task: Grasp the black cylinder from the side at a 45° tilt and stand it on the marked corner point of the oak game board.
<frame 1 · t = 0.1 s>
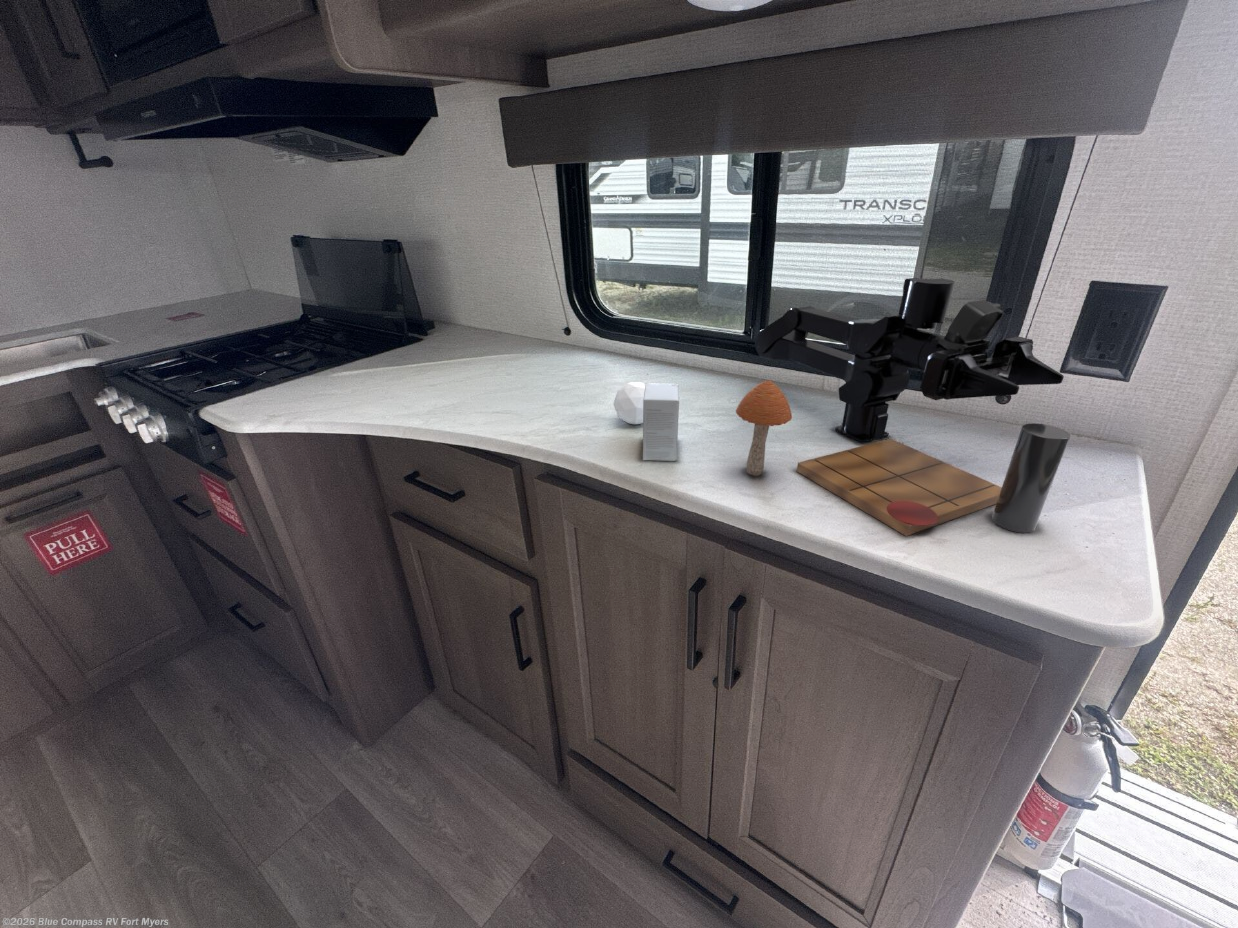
hand: (1040, 385, 72), 17 cm above the worktop, tool horizontal, fingers open, 9 cm apart
geometric ball: (634, 423, 105), on the worktop
black cylinder: (1013, 522, 73), on the worktop
small box: (660, 451, 94), on the worktop
board: (896, 484, 83), on the worktop
mushroom: (756, 475, 86), on the worktop
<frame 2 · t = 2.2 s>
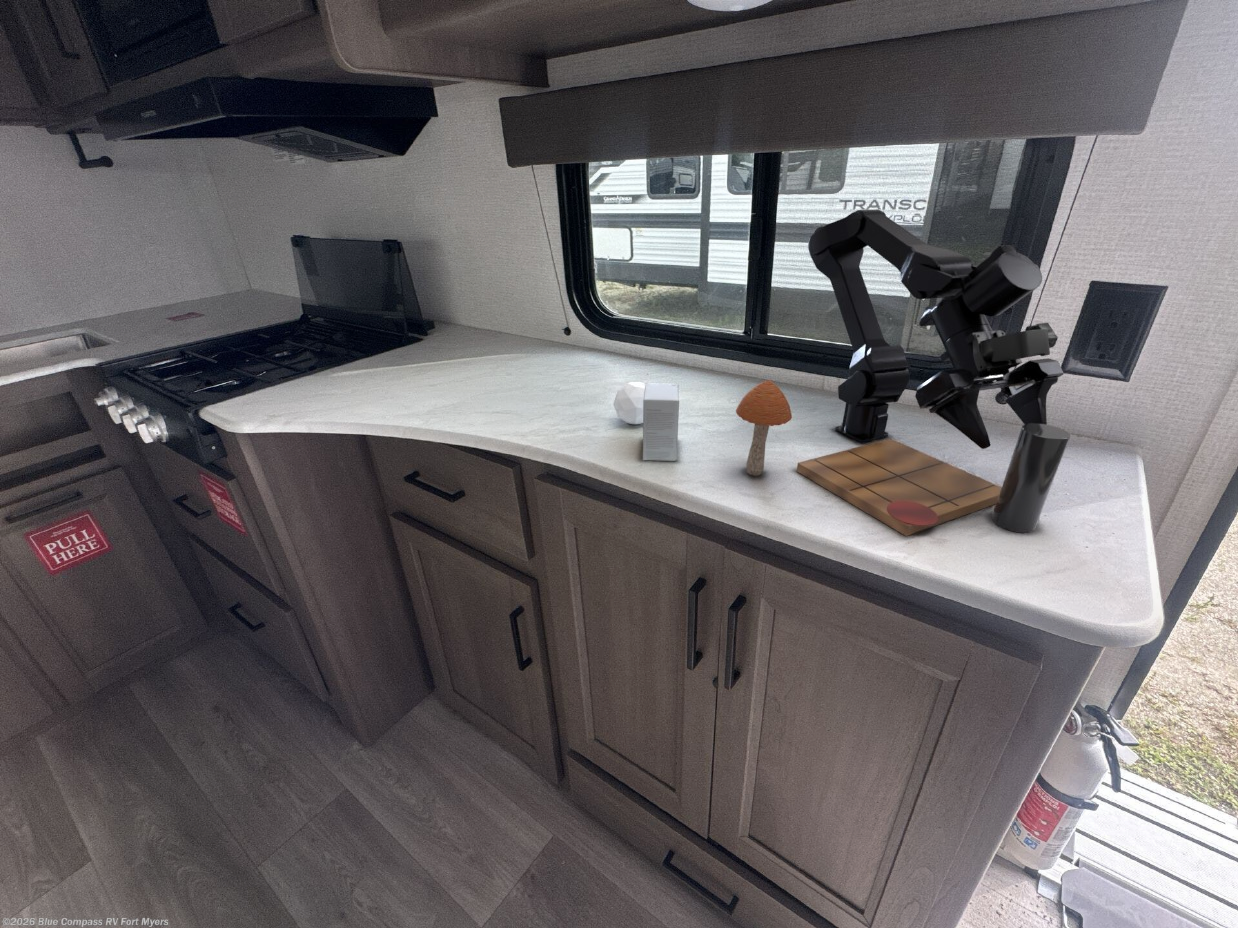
hand: (1015, 442, 72), 10 cm above the worktop, tool tilted 45°, fingers open, 9 cm apart
nothing on the worktop moved.
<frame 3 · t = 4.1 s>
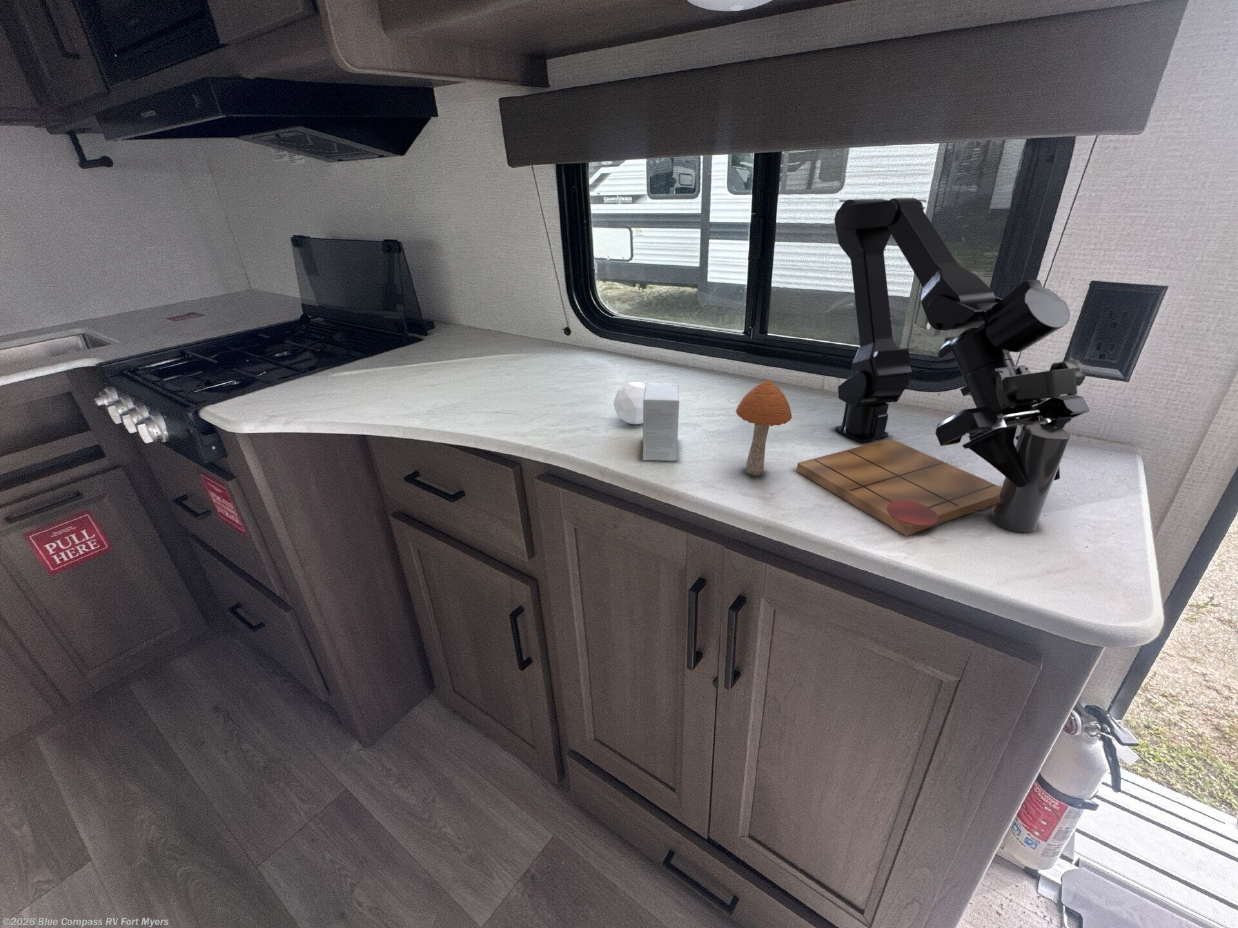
hand: (1039, 483, 69), 7 cm above the worktop, tool tilted 45°, fingers closed on black cylinder, 5 cm apart
black cylinder: (1013, 522, 73), on the worktop, touching gripper
everything else where it was.
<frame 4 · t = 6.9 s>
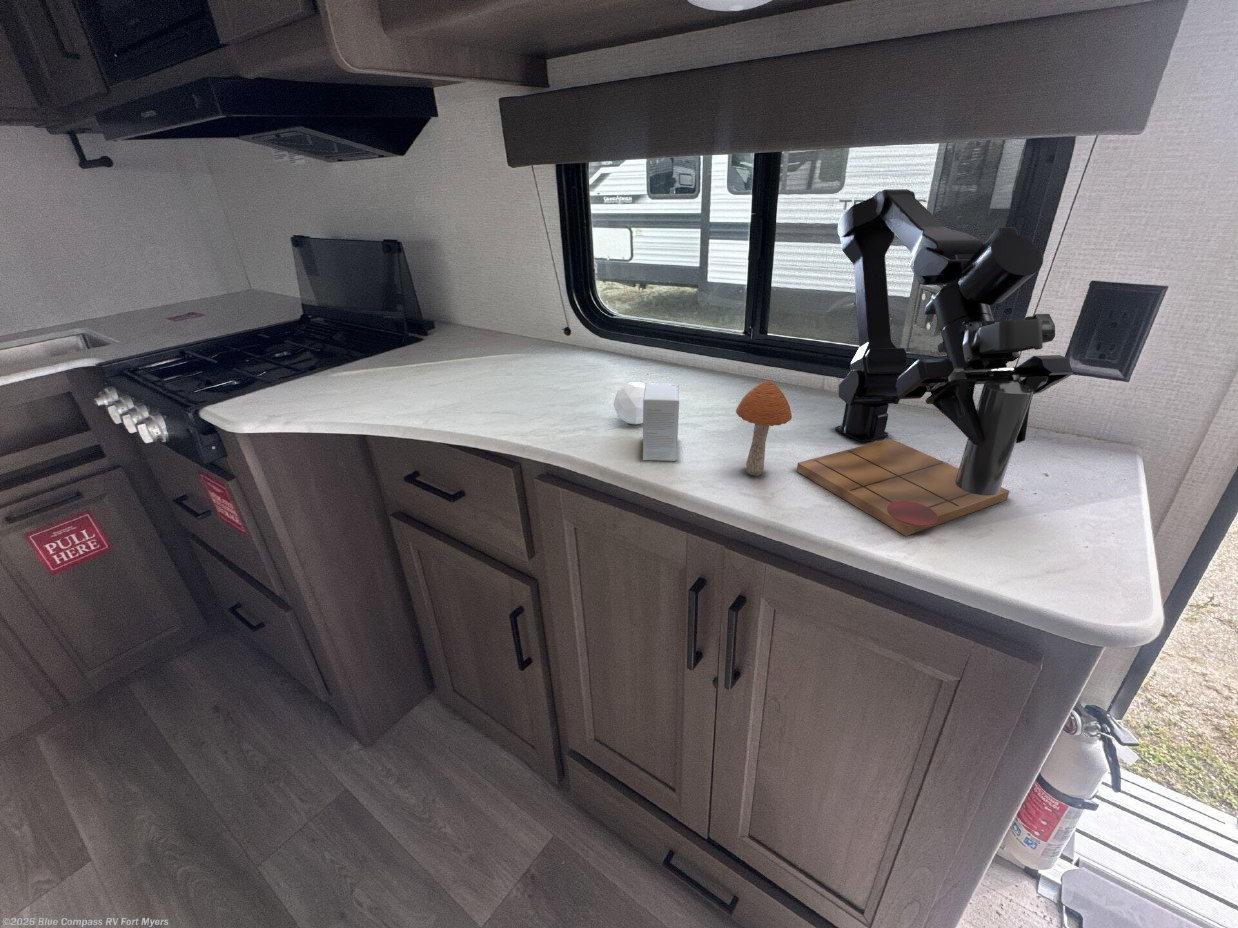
hand: (999, 442, 66), 12 cm above the worktop, tool tilted 45°, fingers closed on black cylinder, 5 cm apart
black cylinder: (976, 486, 70), point 6 cm above the worktop, touching gripper
everything else where it was.
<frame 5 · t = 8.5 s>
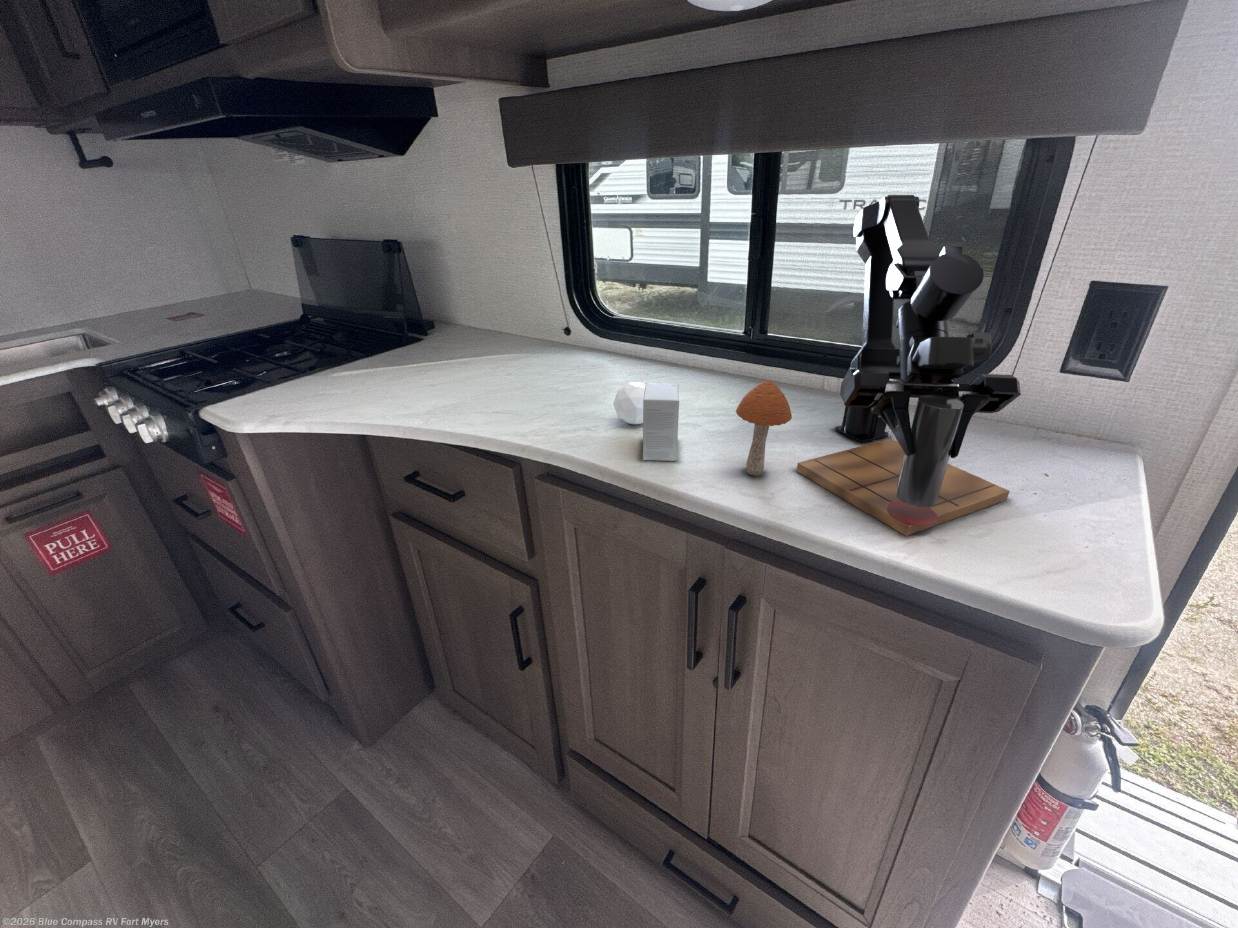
hand: (931, 455, 68), 10 cm above the worktop, tool tilted 45°, fingers closed on black cylinder, 5 cm apart
black cylinder: (915, 497, 72), point 4 cm above the worktop, touching gripper
everything else where it was.
when the fingers open (8 cm above the worktop, at t = 9.6 s): black cylinder stays where it is, resting on board.
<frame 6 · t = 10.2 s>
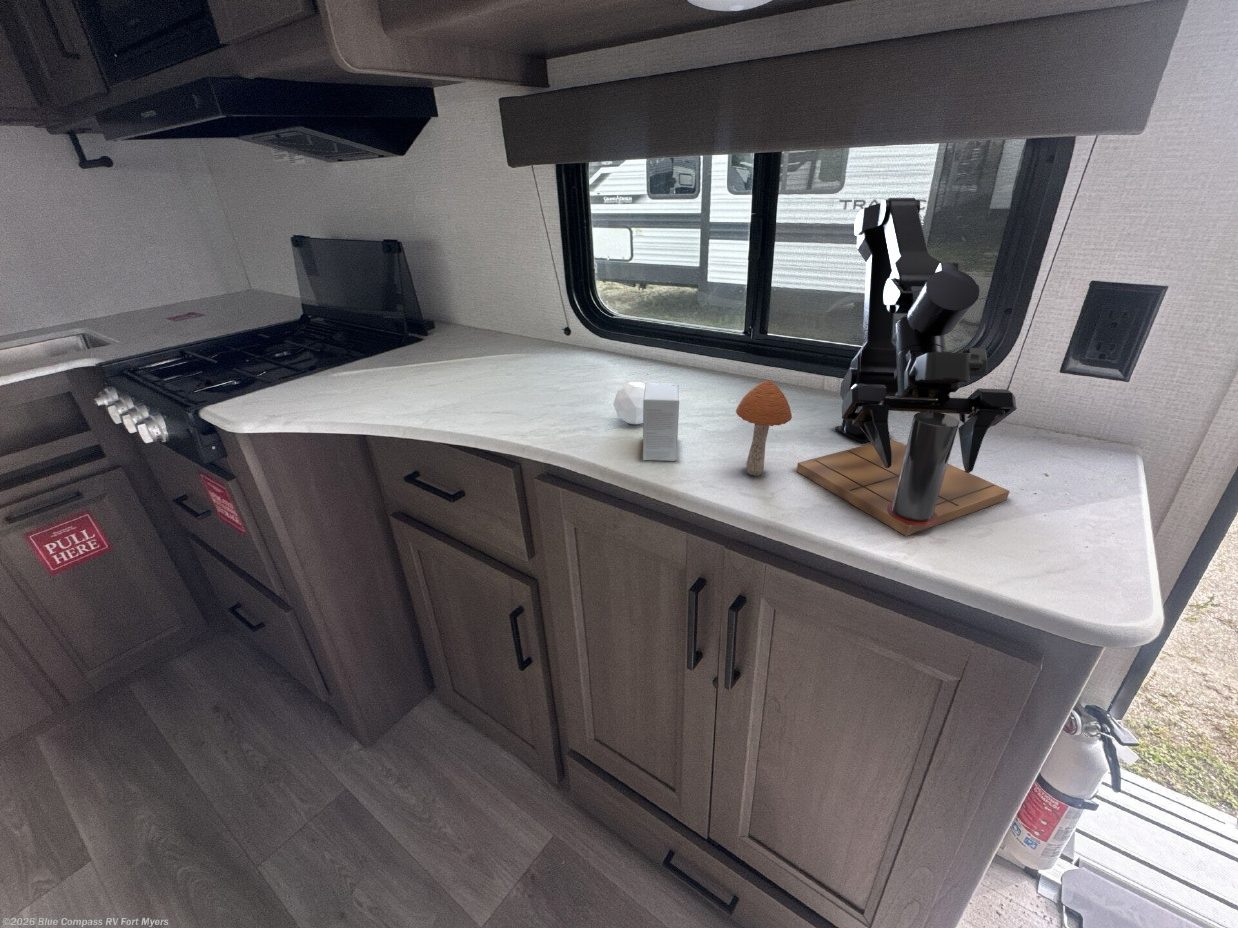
hand: (928, 469, 68), 9 cm above the worktop, tool tilted 45°, fingers open, 9 cm apart
black cylinder: (912, 512, 73), point 2 cm above the worktop, touching board
everything else where it was.
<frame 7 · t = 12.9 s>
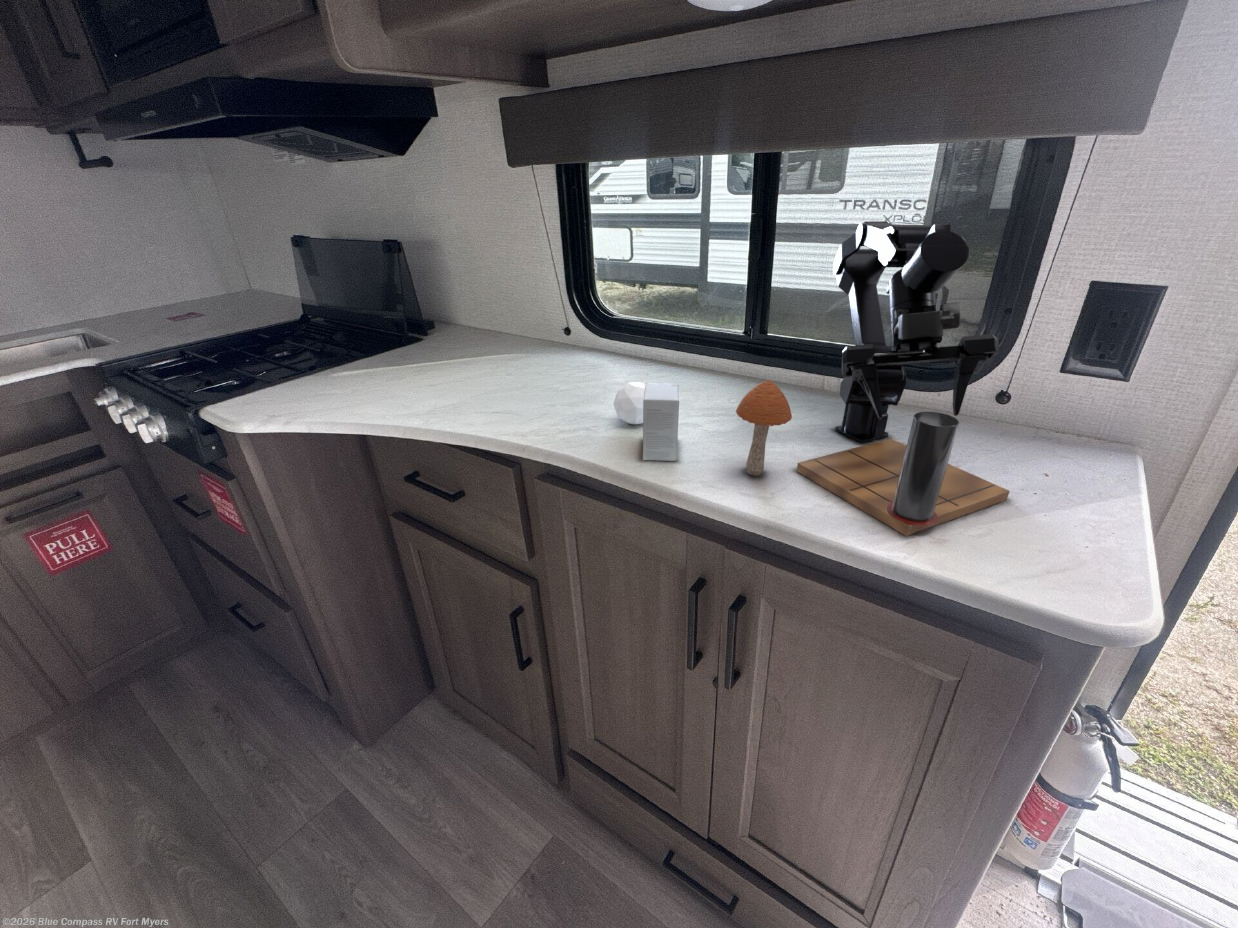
hand: (917, 416, 76), 11 cm above the worktop, tool tilted 35°, fingers open, 9 cm apart
nothing on the worktop moved.
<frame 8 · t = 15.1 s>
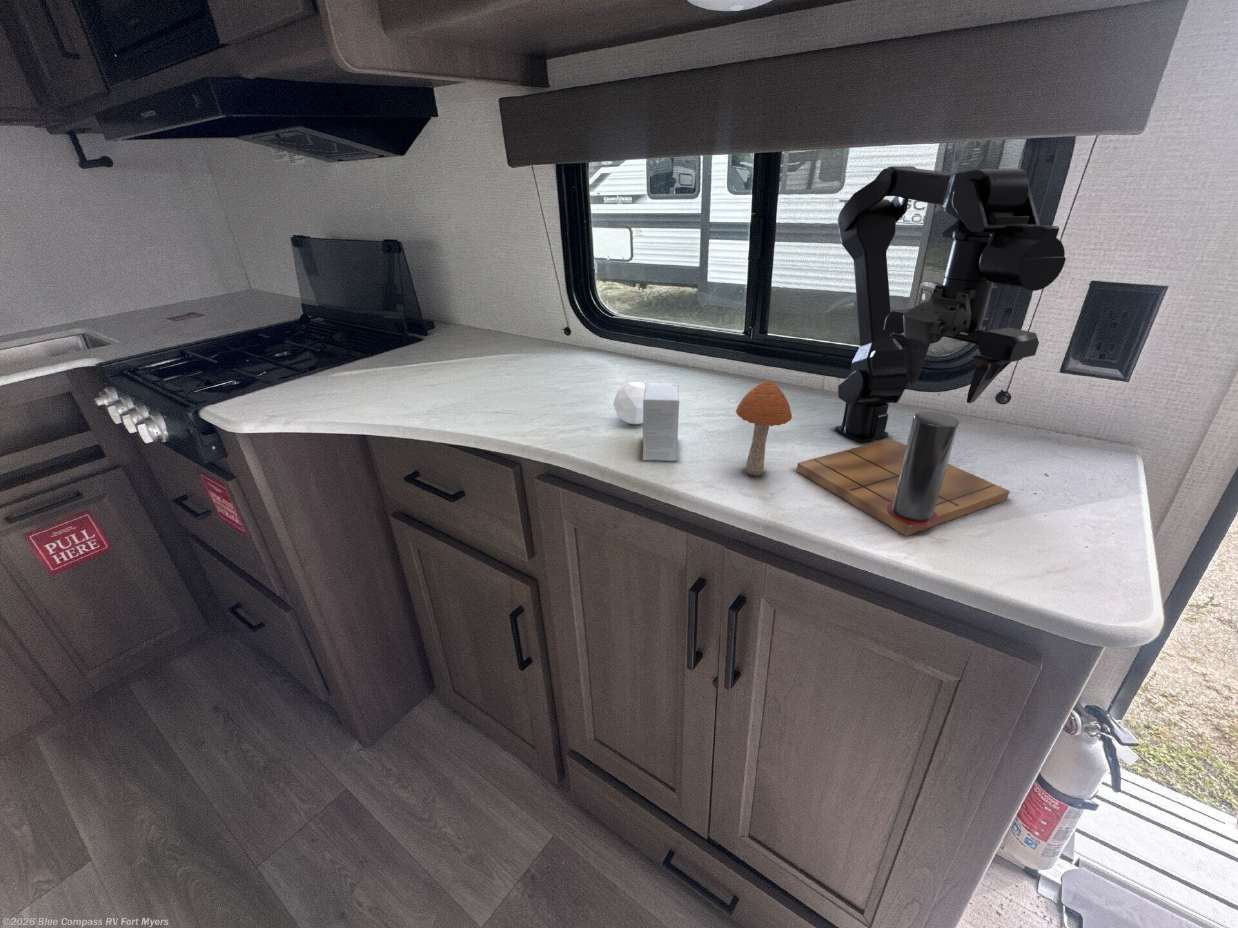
hand: (939, 392, 80), 13 cm above the worktop, tool pointing down, fingers open, 9 cm apart
nothing on the worktop moved.
at the end: black cylinder 0.1 cm from the target spot on the board, point 1.6 cm above the board's base; black cylinder tilted 0°; the gripper is holding nothing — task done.
